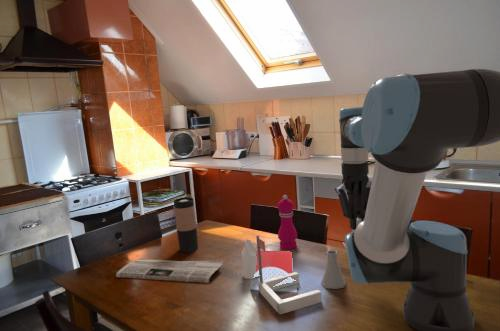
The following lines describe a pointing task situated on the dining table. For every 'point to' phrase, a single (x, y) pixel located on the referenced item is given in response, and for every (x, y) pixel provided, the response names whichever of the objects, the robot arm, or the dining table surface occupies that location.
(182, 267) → the newspaper
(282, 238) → the pepper mill
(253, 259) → the grey piece
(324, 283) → the flask
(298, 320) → the dining table surface
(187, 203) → the travel mug
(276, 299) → the white u-shaped stand
